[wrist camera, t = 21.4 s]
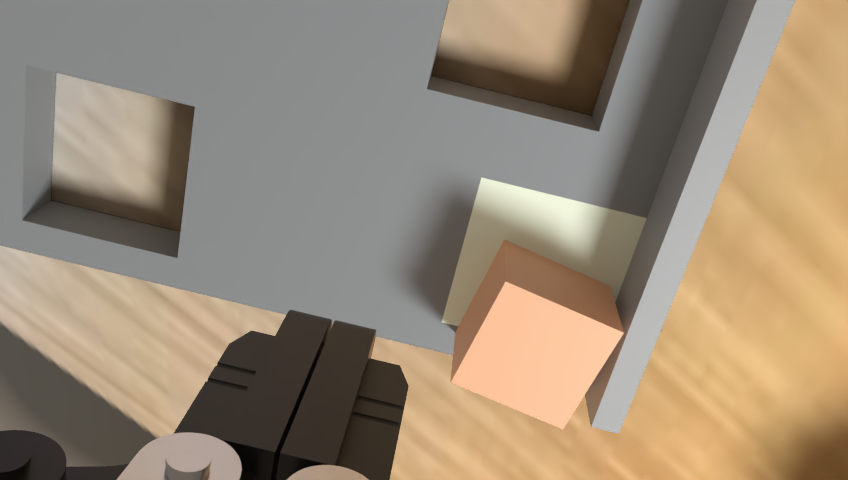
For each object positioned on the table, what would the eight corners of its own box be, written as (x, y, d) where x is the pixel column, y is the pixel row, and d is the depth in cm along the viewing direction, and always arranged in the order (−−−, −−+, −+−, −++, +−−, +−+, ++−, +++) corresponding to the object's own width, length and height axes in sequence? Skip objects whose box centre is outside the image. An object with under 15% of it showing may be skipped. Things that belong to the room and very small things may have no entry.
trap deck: (767, -70, 31) (820, -62, 26) (602, 363, 39) (618, 433, 34) (-36, -273, 30) (-142, -307, 25) (-34, 209, 38) (-114, 256, 33)
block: (610, 286, 34) (624, 332, 31) (555, 375, 36) (562, 429, 33) (504, 239, 34) (505, 281, 30) (455, 332, 36) (450, 382, 32)
